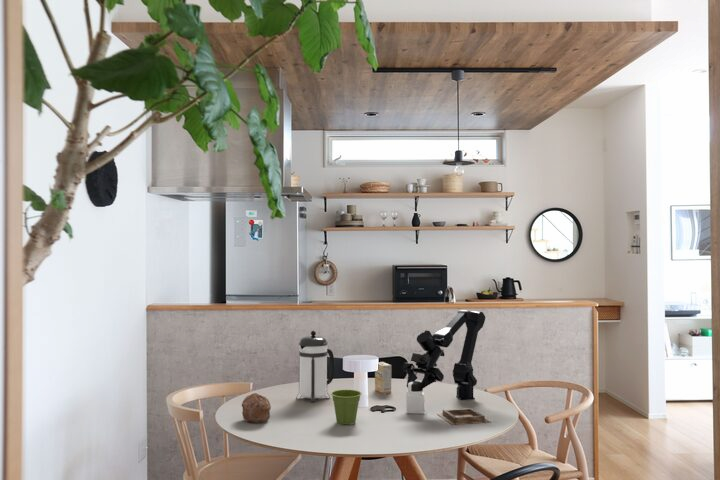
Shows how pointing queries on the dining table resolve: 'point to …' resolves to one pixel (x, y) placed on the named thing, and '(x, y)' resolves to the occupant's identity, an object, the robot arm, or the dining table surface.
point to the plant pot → (346, 405)
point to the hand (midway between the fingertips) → (413, 388)
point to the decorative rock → (256, 408)
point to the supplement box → (383, 378)
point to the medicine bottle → (414, 398)
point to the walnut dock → (463, 416)
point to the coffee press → (314, 367)
